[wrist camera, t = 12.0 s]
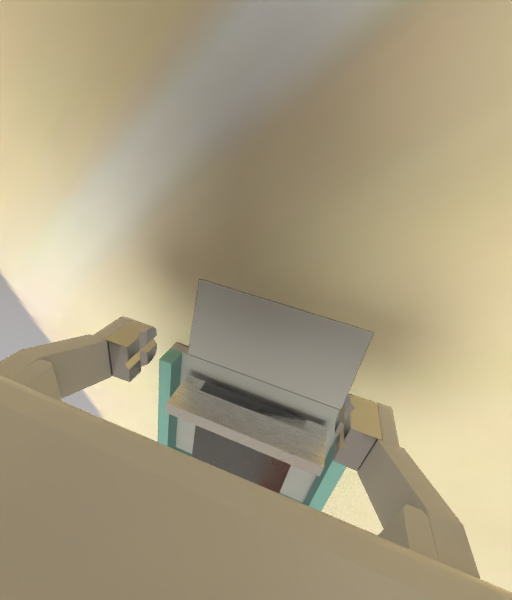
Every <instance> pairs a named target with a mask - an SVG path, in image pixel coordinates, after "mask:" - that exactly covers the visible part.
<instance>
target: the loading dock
mask: <svg viewBox="0 0 512 600" xmlns="http://www.w3.org/2000/svg"><path fill="white" fill-rule="evenodd" d="M373 333H374V332H371V331H367V330H364V329H361V328H358V327H354V326H351V325H348V324H345V323H341V322H338V321H335V320H332V319H328V318H325V317H322V316H319V315H315V314H312V313H309V312H306V311H302V310H299V309H296V308H293V307H289V306H286V305H283V304H280V303H276V302H273V301H270V300H267V299H263V298H260V297H257V296H254V295H250V294H247V293H244V292H241V291H237V290H234V289H231V288H228V287H224V286H221V285H218V284H215V283H211V282H208V281H205V280H202V279H199V285H198V292H197V298H196V304H195V311H194V317H193V324H192V330H191V337H190V343H189V347H187V346H184V345H181V344H179V343H176V344H175V345H174V346H173V347H172V348H171V349H170V350H169V351H167V352H166V353H165V354H164V355H163V356H162V357H161V358H160V359H159V406H158V442H159V443H161V444H163V445H166V446H168V447H170V448H173V449H175V450H177V451H180V452H182V453H184V454H187V455H189V456H191V457H192V451H193V442H194V434H195V425H194V424H192V423H189V422H187V421H185V420H182V419H180V418H177V417H175V416H173V415H170V414H168V413H166V402H167V401H168V400H169V398H170V397H171V396H172V395H173V393H174V392H175V391H176V390H177V388H178V387H179V386H180V385H181V383H182V382H183V381H184V380H185V378H186V377H187V376H188V375H191V376H193V377H196V378H198V379H201V380H204V381H206V382H209V383H212V384H214V385H219V386H221V387H222V388H225V389H227V390H230V391H232V392H235V393H238V394H240V395H243V396H246V397H248V398H251V399H253V400H256V401H259V402H261V403H264V404H267V405H269V406H272V407H274V408H277V409H280V410H282V411H285V412H288V413H292V414H295V415H296V416H298V417H301V418H303V419H306V420H309V421H311V422H314V423H316V424H319V425H322V426H324V427H327V437H326V450H325V463H324V469H323V471H322V473H321V475H320V476H317V475H314V474H312V473H309V472H307V471H305V470H302V469H300V468H297V467H295V466H293V465H291V466H290V468H289V471H288V473H287V476H286V478H285V481H284V483H283V486H282V488H281V490H280V493H279V494H281V495H283V496H286V497H288V498H291V499H293V500H295V501H298V502H300V503H302V504H305V505H307V506H309V507H312V508H314V509H316V510H319V511H321V510H322V509H323V507H324V505H325V503H326V502H327V500H328V498H329V496H330V495H331V493H332V491H333V489H334V488H335V486H336V484H337V482H338V481H339V479H340V477H341V475H342V474H343V472H344V470H345V469H346V466H344V465H342V464H339V463H337V462H334V443H335V441H336V439H337V437H336V435H335V423H336V419H337V415H338V413H339V410H340V408H342V407H344V400H345V398H346V396H347V395H348V393H349V390H350V388H351V386H352V383H353V381H354V378H355V376H356V374H357V371H358V369H359V367H360V364H361V362H362V359H363V357H364V355H365V352H366V350H367V348H368V345H369V343H370V340H371V338H372V336H373Z"/></svg>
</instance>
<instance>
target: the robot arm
mask: <svg viewBox="0 0 512 600" xmlns="http://www.w3.org/2000/svg"><path fill="white" fill-rule="evenodd" d="M156 335H157V334H156V329H155V328H154V327H152V326H149V325H147V324H144V323H141V322H139V321H136V320H132V319H130V318H127V317H120V318H118V319H117V320H115V321H114V322H112V323H111V324H109V325H108V326H106V327H105V328H103V329H102V330H100V331H99V332H97V333H96V334H94V335H90V334H89V335H85V336H80V337H76V338H71V339H67V340H62V341H58V342H53V343H49V344H44V345H40V346H36V347H31V348H27V349H22V350H20V351H18V352H16V353H15V354H13V355H11V356H9V357H7V358H6V359H4V360H2V361H0V600H512V592H509V591H507V590H505V589H502V588H500V587H498V586H495V585H493V584H491V583H488V582H486V581H483V580H481V579H480V576H479V573H478V570H477V567H476V564H475V561H474V558H473V554H472V551H471V548H470V545H469V542H468V539H467V536H466V533H465V530H464V527H463V525H462V523H461V522H460V521H459V519H458V518H457V517H456V516H455V514H454V513H453V512H452V510H451V509H450V508H449V506H448V505H447V504H446V503H445V501H444V500H443V499H442V497H441V496H440V495H439V493H438V492H437V491H436V490H435V488H434V487H433V486H432V484H431V483H430V482H429V480H428V479H427V478H426V477H425V475H424V474H423V473H422V471H421V470H420V469H419V467H418V466H417V465H416V464H415V462H414V461H413V460H412V458H411V457H410V456H409V454H408V453H407V452H406V451H405V449H404V448H401V447H399V441H398V436H397V431H396V426H395V421H394V416H393V411H392V408H391V407H389V406H386V405H383V404H380V403H377V402H376V403H375V402H373V401H370V400H367V399H364V398H361V397H358V396H355V395H352V394H349V393H348V395H347V396H346V398H345V400H344V407H342V408H340V410H339V413H338V415H337V419H336V423H335V435H336V437H337V439H336V441H335V443H334V462H337V463H339V464H342V465H344V466H346V467H349V468H351V469H354V470H356V471H358V472H357V473H358V475H359V477H360V479H361V481H362V484H363V486H364V488H365V490H366V492H367V494H368V496H369V498H370V501H371V503H372V505H373V507H374V509H375V511H376V513H377V515H378V518H379V520H380V522H381V524H382V526H383V528H384V529H383V531H382V532H381V533H380V534H379V535H375V534H373V533H371V532H368V531H366V530H364V529H361V528H359V527H356V526H354V525H352V524H349V523H347V522H345V521H342V520H340V519H338V518H335V517H333V516H331V515H328V514H326V513H324V512H321V511H319V510H316V509H314V508H312V507H309V506H307V505H305V504H302V503H300V502H298V501H295V500H293V499H291V498H288V497H286V496H283V495H281V494H279V493H276V492H274V491H272V490H269V489H267V488H265V487H262V486H260V485H258V484H255V483H253V482H250V481H248V480H246V479H243V478H241V477H239V476H236V475H234V474H232V473H229V472H227V471H224V470H222V469H220V468H217V467H215V466H213V465H210V464H208V463H206V462H203V461H201V460H198V459H196V458H194V457H191V456H189V455H187V454H184V453H182V452H180V451H177V450H175V449H173V448H170V447H168V446H166V445H163V444H161V443H159V442H156V441H154V440H152V439H149V438H147V437H145V436H142V435H140V434H137V433H135V432H133V431H130V430H128V429H126V428H123V427H121V426H119V425H116V424H114V423H112V422H109V421H107V420H105V419H102V418H100V417H97V416H95V415H93V414H90V413H88V412H85V411H83V410H81V409H79V408H76V407H74V406H72V405H69V404H67V403H65V402H62V398H64V397H66V396H68V395H71V394H73V393H75V392H77V391H80V390H82V389H84V388H87V387H89V386H91V385H94V384H96V383H98V382H100V381H103V380H105V379H107V378H110V377H111V376H114V377H117V378H120V379H123V380H126V381H128V382H130V381H131V380H132V379H133V378H134V377H135V376H136V375H137V374H138V373H139V372H140V371H141V366H144V365H147V364H148V363H149V362H150V361H151V360H152V359H153V357H154V355H155V353H156V349H157V343H156V342H155V340H154V337H155V336H156Z"/></svg>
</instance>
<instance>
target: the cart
mask: <svg viewBox="0 0 512 600" xmlns="http://www.w3.org/2000/svg"><path fill="white" fill-rule="evenodd" d="M166 413H168V414H170V415H173V416H175V417H177V418H180V419H182V420H185V421H187V422H189V423H192V424H194V425H195V434H194V442H193V451H192V457H194V458H196V459H198V460H201V461H203V462H206V463H208V464H210V465H213V466H215V467H217V468H220V469H222V470H224V471H227V472H229V473H232V474H234V475H236V476H239V477H241V478H243V479H246V480H248V481H250V482H253V483H255V484H258V485H260V486H262V487H265V488H267V489H269V490H272V491H274V492H276V493H280V490H281V488H282V486H283V483H284V481H285V478H286V476H287V473H288V471H289V468H290V466H291V465H293V466H295V467H297V468H300V469H302V470H305V471H307V472H309V473H312V474H314V475H317V476H320V475H321V473H322V471H323V469H324V463H325V450H326V437H327V427H324V426H322V425H319V424H316V423H314V422H311V421H309V420H306V419H303V418H301V417H298V416H296V415H295V414H292V413H288V412H285V411H282V410H280V409H277V408H274V407H272V406H269V405H267V404H264V403H261V402H259V401H256V400H253V399H251V398H248V397H246V396H243V395H240V394H238V393H235V392H232V391H230V390H227V389H225V388H222V387H221V386H219V385H214V384H212V383H209V382H206V381H204V380H201V379H198V378H196V377H193V376H191V375H188V376H187V377H186V378H185V380H184V381H183V382H182V383H181V385H180V386H179V387H178V388H177V390H176V391H175V392H174V393H173V395H172V396H171V397H170V398H169V400H168V401H167V402H166Z"/></svg>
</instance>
